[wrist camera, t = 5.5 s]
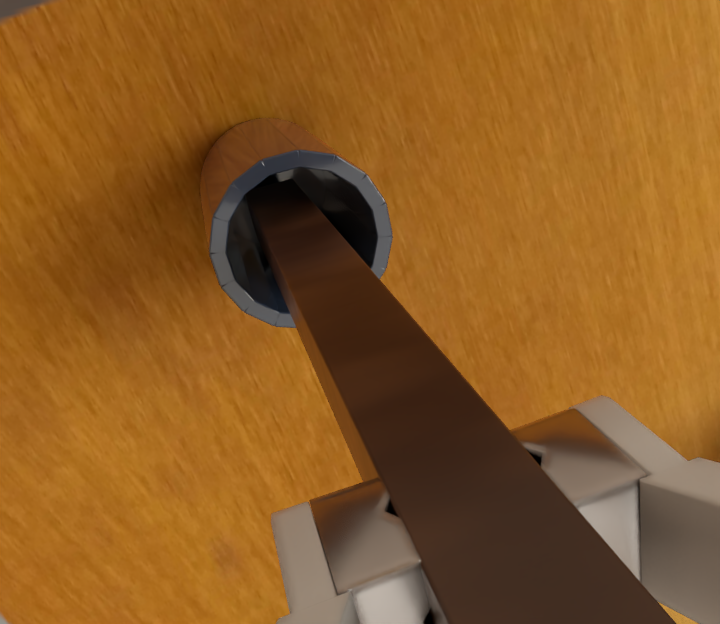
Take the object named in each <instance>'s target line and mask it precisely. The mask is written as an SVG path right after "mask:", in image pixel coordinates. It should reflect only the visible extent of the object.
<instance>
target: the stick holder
mask: <svg viewBox="0 0 720 624" xmlns="http://www.w3.org/2000/svg"><path fill="white" fill-rule="evenodd" d="M288 179H293V180H294V181H295V182H296V183H297V184H298V185H299V187H300V188H301V189H302V190H303V191H304V192H305V194H306V195H307V196H308V197H309V198H310V199H311V201H312V202H313V203H314V204H315V205H316V206H317V208H318V209H319V210H320V211H321V212H322V213H323V214H324V216H325V217H326V218H327V219H328V220H329V221H330V223H331V224H332V225H333V226H334V227H335V228H336V230H337V231H338V232H339V233H340V234H341V235H342V237H343V238H344V239H345V240H346V241H347V242H348V243H349V245H350V246H351V247H352V248H353V249H354V250H355V252H356V253H357V254H358V255H359V256H360V257H361V259H362V260H363V261H364V262H365V263H366V264H367V266H368V267H369V268H370V269H371V270H372V271H373V272H374V274H375V275H376V276H377V277H378V278H379V279H380V278H381V276H382V275H383V273H384V272H385V270H386V268H387V263H388V258H389V253H390V248H391V243H392V238H393V236H392V228H391V223H390V218H389V213H388V208H387V204H386V202H385V199H384V198H383V196H382V195H381V194H380V192H379V191H378V189H377V188H376V186H375V185H374V183H373V182H372V180H371V179H370V178H369V176H368V175H367V174H366V173H365V172H364V171H363V170H361V169H360V168H358V167H357V166H356V165H354V164H353V163H352V162H350V161H349V160H347V159H346V158H345V157H343V156H342V155H341V154H339V153H338V152H337V151H335V150H334V149H332V148H331V147H330V146H328V145H327V144H326V143H324V142H323V141H322V140H320V139H319V138H317V137H316V136H315V135H313V134H311V133H310V132H308V131H306V130H305V129H304V128H302V127H300V126H298V125H297V124H295V123H292V122H289V121H286V120H281V119H276V118H259V119H253V120H249V121H246V122H243V123H241V124H239V125H237V126H235V127H233V128H231V129H230V130H228V131H227V132H226V133H224V134H223V135H222V136H221V137H220V138H219V139H218V140H217V141H216V143H215V144H214V145H213V146H212V148H211V150H210V151H209V153H208V155H207V157H206V159H205V161H204V165H203V168H202V173H201V183H200V198H201V204H202V211H203V218H204V224H205V231H206V237H207V244H208V250H209V256H210V259H211V262H212V265H213V268H214V271H215V274H216V277H217V279H218V282H219V285H220V286H221V288H222V289H223V291H224V292H225V293H226V294H227V295H228V296H229V297H230V298H231V299H232V300H233V301H234V303H235V304H236V305H237V306H238V307H239V308H240V309H241V310H242V311H244V312H245V313H246V314H248V315H251V316H253V317H255V318H257V319H259V320H261V321H264V322H266V323H268V324H270V325H272V326H274V325H275V326H276V327H290V328H296V326H295V323H294V321H293V319H292V317H291V314H290V312H289V310H288V307H287V305H286V303H285V300H284V298H283V296H282V294H281V291H280V289H279V287H278V284H277V282H276V280H275V278H274V275H273V273H272V271H271V268H270V266H269V264H268V261H267V259H266V257H265V255H264V252H263V250H262V248H261V245H260V243H259V241H258V238H257V235H256V232H255V229H254V225H253V222H252V218H251V215H250V212H249V208H248V205H247V202H246V198H245V194H246V193H248V192H249V191H250V190H252V189H256V188H259V187H263V186H266V185H270V184H274V183H277V182H281V181H284V180H288Z"/></svg>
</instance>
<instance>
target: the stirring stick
mask: <svg viewBox="0 0 720 624" xmlns="http://www.w3.org/2000/svg"><path fill="white" fill-rule="evenodd" d="M245 198H246V202H247V205H248V208H249V212H250V215H251V218H252V222H253V225H254V229H255V232H256V235H257V238H258V241H259V243H260V245H261V248H262V250H263V252H264V255H265V257H266V259H267V261H268V264H269V266H270V268H271V271H272V273H273V275H274V278H275V280H276V282H277V284H278V287H279V289H280V291H281V294H282V296H283V298H284V300H285V303H286V305H287V307H288V310H289V312H290V314H291V317H292V319H293V321H294V323H295V326H296V328H297V330H298V333H299V335H300V337H301V340H302V342H303V344H304V346H305V349H306V351H307V353H308V356H309V358H310V360H311V363H312V365H313V367H314V369H315V372H316V374H317V376H318V379H319V381H320V383H321V386H322V388H323V390H324V392H325V395H326V397H327V399H328V402H329V404H330V406H331V409H332V411H333V413H334V415H335V418H336V420H337V422H338V425H339V427H340V429H341V431H342V434H343V436H344V438H345V441H346V443H347V445H348V448H349V450H350V452H351V454H352V457H353V459H354V461H355V464H356V466H357V468H358V471H359V473H360V475H361V477H362V480H363V482H365V481H368V480H371V479H374V478H377V477H378V478H379V479H380V480H381V481H383V483H384V485H385V487H386V489H387V490H388V492H389V494H390V504H391V508H392V512H393V515H394V516H396V517H399V518H401V519H402V521H403V523H404V525H405V527H406V529H407V531H408V533H409V535H410V537H411V540H412V542H413V544H414V546H415V548H416V550H417V552H418V554H419V556H420V558H421V560H422V561H421V564H420V566H421V571H422V575H423V579H424V583H425V588H426V592H427V596H428V600H429V605H430V610H429V612H428V614H429V616H430V618H431V621H432V623H433V624H676V623H675V622H674V621H673V619H672V618H671V617H670V616H669V615H668V614H667V612H666V611H665V610H664V609H663V608H662V607H661V605H660V604H659V603H658V602H657V601H656V600H655V598H654V597H653V596H652V595H651V594H650V593H649V592H648V590H647V589H646V588H645V587H644V586H643V585H642V583H641V582H640V581H639V580H638V579H637V578H636V576H635V575H634V574H633V573H632V572H631V571H630V569H629V568H628V567H627V566H626V565H625V564H624V563H623V561H622V560H621V559H620V558H619V557H618V556H617V554H616V553H615V552H614V551H613V550H612V549H611V547H610V546H609V545H608V544H607V543H606V542H605V540H604V539H603V538H602V537H601V536H600V535H599V534H598V532H597V531H596V530H595V529H594V528H593V527H592V525H591V524H590V523H589V522H588V521H587V520H586V518H585V517H584V516H583V515H582V514H581V513H580V511H579V510H578V509H577V508H576V507H575V506H574V505H573V504H572V503H571V502H570V501H569V500H568V499H567V497H566V496H565V495H564V494H563V493H562V492H561V490H560V489H559V488H558V487H557V486H556V485H555V483H554V482H553V481H552V480H551V479H550V478H549V476H548V475H547V474H546V473H545V472H544V471H543V470H542V468H541V466H540V465H539V464H538V463H537V462H536V460H535V459H534V458H533V457H532V456H531V455H530V453H529V452H528V451H527V450H526V449H525V448H524V447H523V446H522V445H521V444H520V442H519V441H518V440H517V438H516V437H515V436H514V435H513V434H512V433H511V431H510V430H509V429H508V428H507V427H506V426H505V424H504V423H503V422H502V421H501V420H500V419H499V418H498V416H497V415H496V414H495V413H494V412H493V411H492V409H491V408H490V407H489V406H488V405H487V404H486V402H485V401H484V400H483V399H482V398H481V397H480V395H479V394H478V393H477V392H476V391H475V390H474V388H473V387H472V386H471V385H470V384H469V383H468V382H467V380H466V379H465V378H464V377H463V376H462V375H461V373H460V372H459V371H458V370H457V369H456V368H455V366H454V365H453V364H452V363H451V362H450V361H449V359H448V358H447V357H446V356H445V355H444V354H443V353H442V351H441V350H440V349H439V348H438V347H437V346H436V344H435V343H434V342H433V341H432V340H431V339H430V337H429V336H428V335H427V334H426V333H425V332H424V330H423V329H422V328H421V327H420V326H419V325H418V324H417V322H416V321H415V320H414V319H413V318H412V317H411V315H410V314H409V313H408V312H407V311H406V310H405V308H404V307H403V306H402V305H401V304H400V303H399V301H398V300H397V299H396V298H395V297H394V296H393V295H392V293H391V292H390V291H389V290H388V289H387V288H386V286H385V285H384V284H383V283H382V282H381V281H380V279H379V278H378V277H377V276H376V275H375V274H374V272H373V271H372V270H371V269H370V268H369V267H368V266H367V264H366V263H365V262H364V261H363V260H362V259H361V257H360V256H359V255H358V254H357V253H356V252H355V250H354V249H353V248H352V247H351V246H350V245H349V243H348V242H347V241H346V240H345V239H344V238H343V237H342V235H341V234H340V233H339V232H338V231H337V230H336V228H335V227H334V226H333V225H332V224H331V223H330V221H329V220H328V219H327V218H326V217H325V216H324V214H323V213H322V212H321V211H320V210H319V209H318V208H317V206H316V205H315V204H314V203H313V202H312V201H311V199H310V198H309V197H308V196H307V195H306V194H305V192H304V191H303V190H302V189H301V188H300V187H299V185H298V184H297V183H296V182H295V181H294V180H293V179H288V180H284V181H281V182H277V183H274V184H270V185H266V186H263V187H259V188H256V189H252V190H250V191H249V192H248V193H246V194H245Z"/></svg>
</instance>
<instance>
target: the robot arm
mask: <svg viewBox="0 0 720 624" xmlns="http://www.w3.org/2000/svg"><path fill="white" fill-rule="evenodd" d="M510 431H511V433H512V434H513V435H514V436H515V437H516V438H517V440H518V441H519V442H520V444H521V445H522V446H523V447H524V448H525V449H526V450H527V451H528V452H529V453H530V455H531V456H532V457H533V458H534V459H535V460H536V462H537V463H538V464H539V465H540V466H541V468H542V470H543V471H544V472H545V473H546V474H547V475H548V476H549V478H550V479H551V480H552V481H553V482H554V483H555V485H556V486H557V487H558V488H559V489H560V490H561V492H562V493H563V494H564V495H565V496H566V497H567V499H568V500H569V501H570V502H571V503H572V504H573V505H574V506H575V507H576V508H577V509H578V510H579V511H580V513H581V514H582V515H583V516H584V517H585V518H586V520H587V521H588V522H589V523H590V524H591V525H592V527H593V528H594V529H595V530H596V531H597V532H598V534H599V535H600V536H601V537H602V538H603V539H604V540H605V542H606V543H607V544H608V545H609V546H610V547H611V549H612V550H613V551H614V552H615V553H616V554H617V556H618V557H619V558H620V559H621V560H622V561H623V563H624V564H625V565H626V566H627V567H628V568H629V569H630V571H631V572H632V573H633V574H634V575H635V576H636V578H637V579H638V580H639V581H640V582H641V583H642V585H643V586H644V587H645V588H646V589H647V590H648V592H649V593H650V594H651V595H652V596H653V597H654V598H655V600H656V601H658V602H660V603H661V604H663V605H665V606H667V607H669V608H671V609H673V610H675V611H677V612H678V613H680V614H682V615H684V616H686V617H688V618H690V619H692V620H694V621H695V622H697V623H699V624H720V463H719V462H715V461H711V460H707V459H703V458H700V457H698V458H695V459H692V460H690V461H688V460H686V459H685V458H684V457H683V456H681V455H680V454H679V453H678V452H677V451H675V450H674V449H673V448H672V447H670V446H669V445H668V444H667V443H665V442H664V441H663V440H662V439H660V438H659V437H658V436H657V435H655V434H654V433H653V432H652V431H651V430H649V429H648V428H647V427H646V426H644V425H643V424H642V423H641V422H639V421H638V420H637V419H636V418H634V417H633V416H632V415H631V414H629V413H628V412H627V411H626V410H624V409H623V408H622V407H621V406H620V405H618V404H617V403H616V402H615V401H613V400H612V399H611V398H609V397H606V396H602V395H601V396H598V397H596V398H593V399H590V400H588V401H585V402H583V403H580V404H577V405H575V406H572V407H569V409H567V410H564V411H561V412H558V413H555V414H553V415H550V416H547V417H544V418H542V419H539V420H536V421H533V422H531V423H528V424H525V425H523V426H520V427H517V428H514V429H512V430H510ZM309 501H310V504H311V507H310V504H309V502H304V503H301V504H298V505H295V506H292V507H289V508H286V509H283V510H280V511H278V512H275V513H272V514H271V524H272V529H273V534H274V539H275V544H276V548H277V553H278V558H279V563H280V568H281V572H282V577H283V582H284V587H285V592H286V596H287V601H288V606H289V611H290V614H289V615H286V616H284V617H281V618H279V619H278V620H277V623H276V624H433V623H432V621H431V618H430V616H429V614H428V612H429V610H430V605H429V600H428V596H427V592H426V588H425V583H424V579H423V575H422V571H421V566H420V564H421V561H422V560H421V558H420V556H419V554H418V552H417V550H416V548H415V546H414V544H413V542H412V540H411V537H410V535H409V533H408V531H407V529H406V527H405V525H404V523H403V521H402V519H401V518H399V517H396V516H394V515H393V512H392V508H391V504H390V494H389V492H388V490H387V489H386V487H385V485H384V483H383V481H381V480H380V479H379V478H378V477H377V478H374V479H371V480H368V481H365V482H362V483H359V484H356V485H353V486H350V487H347V488H344V489H341V490H338V491H335V492H332V493H329V494H326V495H323V496H320V497H317V498H314V499H311V500H309ZM311 508H312V510H311ZM312 511H313V513H312ZM313 515H314V516H313ZM314 518H315V519H314Z"/></svg>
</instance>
